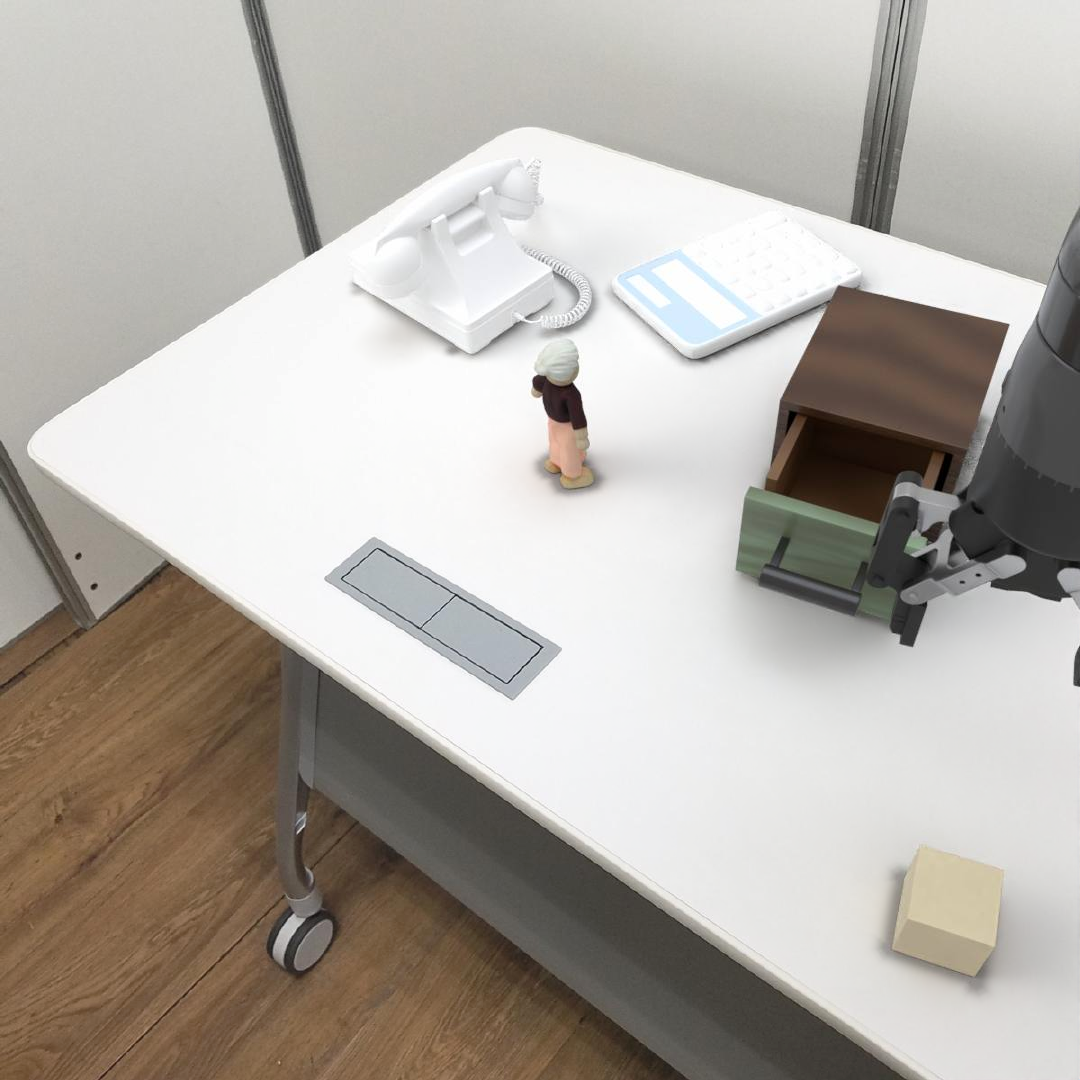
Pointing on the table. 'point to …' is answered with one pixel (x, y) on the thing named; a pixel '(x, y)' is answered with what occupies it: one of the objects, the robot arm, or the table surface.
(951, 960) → the block
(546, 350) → the grandmother figurine
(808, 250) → the calculator
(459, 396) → the table surface
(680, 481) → the table surface
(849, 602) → the drawer
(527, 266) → the telephone
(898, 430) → the cabinet
